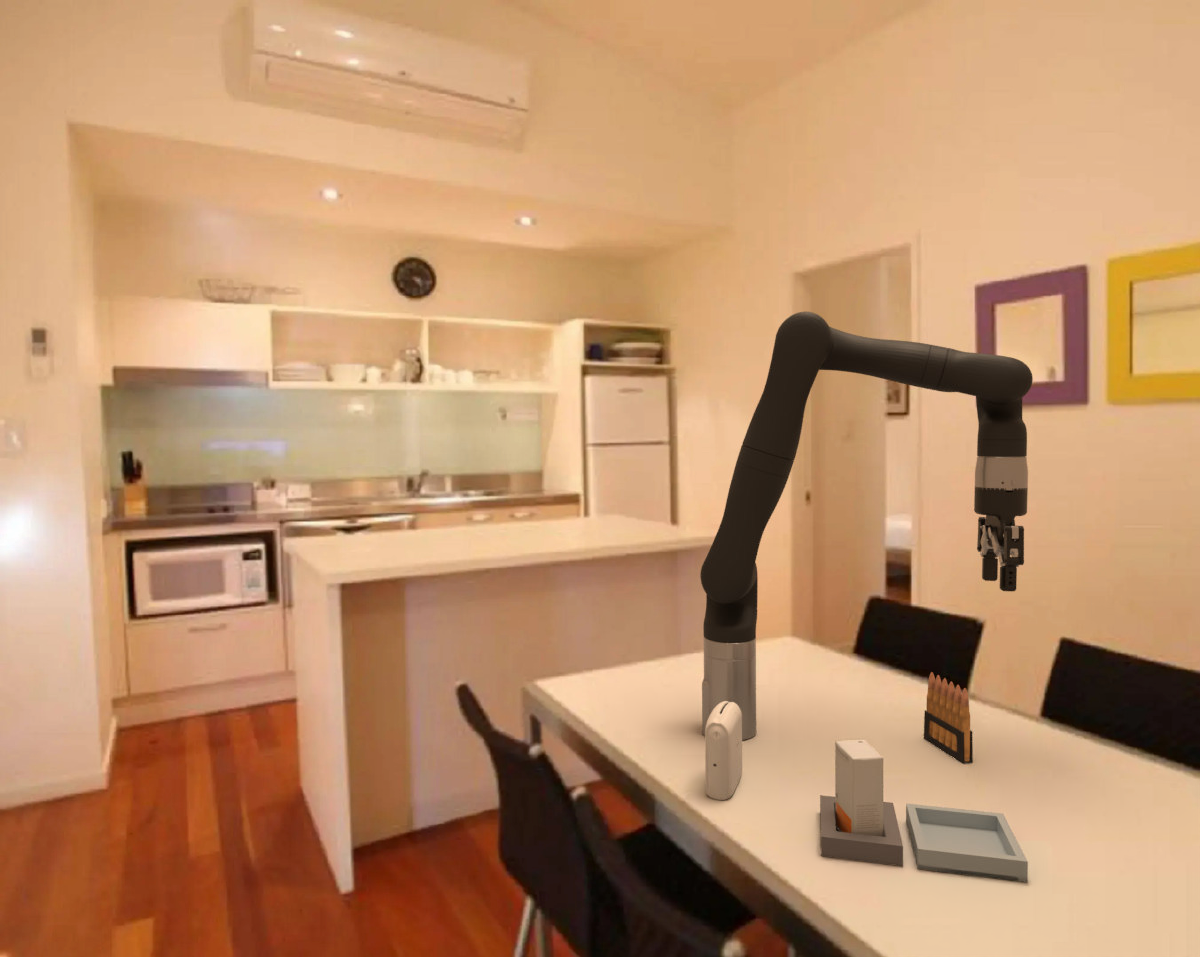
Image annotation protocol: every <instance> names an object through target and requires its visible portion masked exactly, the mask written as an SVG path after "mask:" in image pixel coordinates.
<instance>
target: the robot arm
mask: <svg viewBox="0 0 1200 957" xmlns="http://www.w3.org/2000/svg"><path fill="white" fill-rule="evenodd" d="M819 371H837V372H844V373H845V372H847V373H854V374H859V375H864V376H865V375H866V376H870V377H874V378H879V379H883V380H887V381H890V382H891V381H892V382H895V383H900V384H903V385H908V386H911V387H917V388H921V389H926V390H931V391H937V392H943V393H959V394H964V395H968V396H972V397H975V404H976V415H977V422H978V430H977V438H976V439H977V442H976V443H977V445H976V446H977V447H976V449H977V450H976V456H977V457H976V462H975V467H974V468H975V469H974V470H975V471H974V500H973V501H974V502H973V503H974V504H973V506H974V509H973V511H974V513H976V514H978V515H980V516H978V519H977V521H978V523H977V542H976V543H977V544H976V546H977V547H976V550H977V552H978V553H980V554H979V555H980V557H981V558H982V559H981V560H982V564H981V565H982V566H981V567H982V568H981V569H982V570H981V578H982V580H983V581H985V582H996V581H997V580H998V578H999V590H1001V591H1002V592H1016V591H1017V579H1018V578H1017V575H1018V574H1017V572H1018V571H1017V570H1018V568H1019V567H1020V566H1023V565H1024V564H1025V551H1024V550H1025V528H1024V526H1023V525H1016V519H1015V518H1017V517H1023V516H1025V515H1027V513H1028V485H1029V470H1028V468H1029V467H1028V462H1027V461H1028V460H1027V459H1028V458H1027V456H1028V455H1027V454H1028V452H1027V450H1028V432H1027V431H1028V430H1027V426H1026V424H1025V422H1024V420H1023V398H1024V397H1025V396H1027V394H1028V393H1029V392H1030V390H1031V388H1032V385H1033V380H1034V379H1033V374H1032V371H1031V369H1030V367H1029V366H1028V365H1027V364H1026V363H1025V362H1023V361H1021V360H1020V359H1018V358H1014V357H1011V356H1005V355H999V354H992V353H991V354H990V353H982V352H981V353H980V352H969V351H968V352H967V351H962V350H958V349H954V348H950V347H946V346H945V347H944V346H940V345H935V344H929V343H924V342H917V341H907V340H895V339H894V340H893V339H885V338H873V337H868V336H867V337H866V336H862V335H861V336H860V335H857V334H852V333H850V332H849V333H848V332H846V331H843V330H840V329H837V328H834V327H831V326H830V325H829V324H828V322H827V320H825V319H824V318H823V317H822V316H821V315H819V314H818V313H815V312H812V311H801V312H796V313H794V314H792V315H790V316H789V317H787V318H785V320H783V322H782V323H781V324H780V326H779V327H778V330H777V331H776V334H775V339H774V345H773V350H772V355H771V361H770V363H769V368H768V373H767V378H766V382H765V385H764V388H763V391H762V394H761V395H760V399H759V400H758V403H757V405H756V408H755V410H754V411H753V413H752V417H751V420H750V422H749V425H748V427H747V430H746V433H745V435H744V438H743V441H742V444H741V446H740V449H739V453H738V456H737V458H736V463H735V464H734V466H735V467H734V470H733V473H732V477H731V481H730V484H729V488H728V493H727V497H726V501H725V507H724V510H723V516H722V518H721V521H720V524H719V527H718V529H717V532H716V535H715V536H714V539H713V541H712V544H711V546H710V548H709V551H708V553H707V555H706V556H705V559H704V561H703V562H702V566H701V568H700V584H701V587H702V589H703V591H704V592H705V594H706V600H705V601H706V605H705V614H704V619H703V628H702V629H703V679H702V681H701V704H702V706H701V708H702V709H701V710H702V711H701V713H702V714H701V717H702V718H701V719H702V723H701V725H702V727H701V728H702V731H701V732H702V735H703V736H705V728H706V723H707V720H708V718H709V716H710V714H711V712H712V710H713V709H714V708H715V707H716V706H717V705H718V704H719V703H721V702H724V701H728V702H734V703H736V704H737V705H738V706H739V708H740V710H741V713H742V741H744V740H747V739H748V740H749V739H751V738H753V737H754V736H756V735H757V636H756V635H757V622H758V587H759V586H758V582H759V581H758V579H759V578H758V567H757V564H756V561H757V558H758V557H757V556H758V552H759V548H760V544H761V540H762V538H763V535H764V531H765V530H766V527H767V524H769V521H770V519H771V516H772V515H773V513H774V512H775V509H776V507H777V505H778V503H779V502H780V499H781V497H782V495H783V492H784V490H785V488H786V485H787V482H788V479H789V477H790V475H791V471H792V468H793V465H794V462H795V459H796V456H797V455H796V454H797V453H798V447H799V443H800V439H801V436H802V428H803V423H804V417H805V410H806V405H807V401H808V399H809V398H808V397H809V395H810V392H811V391H812V387H813V385H814V383H815V380H816V377H817V375H818V373H819ZM999 566H1000V567H999ZM998 571H999V572H998ZM998 574H999V576H998Z"/></svg>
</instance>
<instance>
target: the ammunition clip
mask: <svg viewBox="0 0 1200 957" xmlns="http://www.w3.org/2000/svg"><path fill="white" fill-rule="evenodd" d="M927 682H928V683H927V685H928V686H927V694H926V709H925V710H924V713H923V714H924V715H923V716H924V717H923V718H924V720H923V740H925V741H926V742H927V743H929V742H930V743H929V744H931V745H932V746H934V747H935V748H937V749H939V750H940V749H941V751H942V752H943V751H944V752H943V753H945V754H946V755H948V756H950V757H951V756H952V757H951V758H953V757H954V758H955V759H954V758H953V759H954V760H956V761H957V762H959V763H961V764H972V763H973V762H974V760H973V759H974V756H973V755H974V754H973V752H974V751H973V742H974V741H973V730H971V712H970V699H969V693H968V690H967V688H966V687H964V688H963V690H962V689H961V687H960V685H959V684H957V685H956V687H955V685H954V683H953V681H950V682H949V684H948V681H947V679H946V677H944V678H943V679H941V676H940V675H939V674H937V675H936V678H935V675H934V672H932V671H931V672H930V674H929V677H928V680H927Z"/></svg>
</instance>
